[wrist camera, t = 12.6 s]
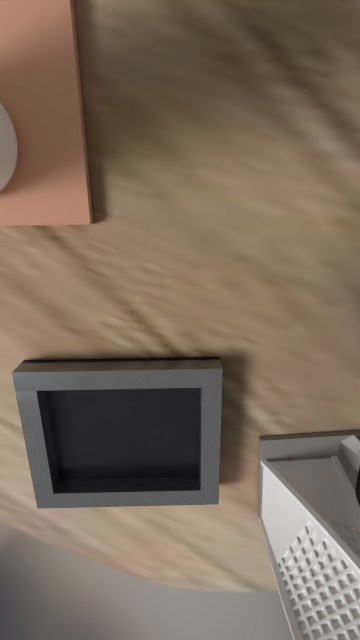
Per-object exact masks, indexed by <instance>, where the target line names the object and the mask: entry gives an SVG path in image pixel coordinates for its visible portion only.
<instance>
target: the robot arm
mask: <svg viewBox="0 0 360 640" xmlns="http://www.w3.org/2000/svg"><path fill="white" fill-rule="evenodd" d="M355 494H356V498H357V501H358V504H359V506H360V466H359V471H358V477H357V482H356V487H355Z"/></svg>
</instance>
